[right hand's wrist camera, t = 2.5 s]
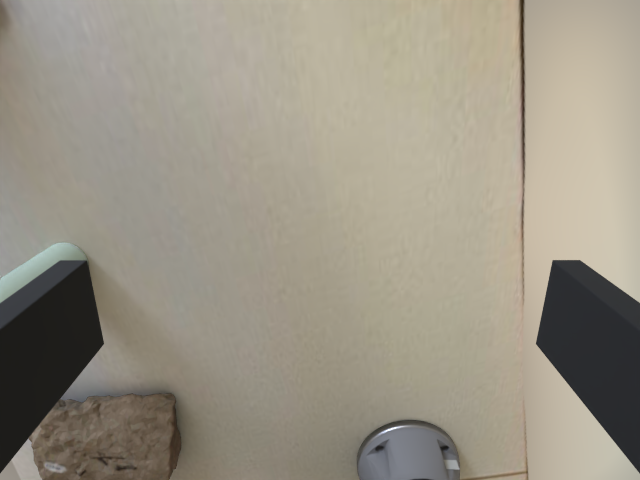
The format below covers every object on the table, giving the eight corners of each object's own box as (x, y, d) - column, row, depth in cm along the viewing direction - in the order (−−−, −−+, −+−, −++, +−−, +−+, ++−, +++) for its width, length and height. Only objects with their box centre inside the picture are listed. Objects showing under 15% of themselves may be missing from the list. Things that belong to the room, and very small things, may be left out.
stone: (34, 481, 65) (14, 511, 59) (27, 385, 63) (5, 406, 57) (183, 467, 69) (177, 494, 63) (181, 377, 67) (175, 396, 61)
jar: (71, 288, 58) (-31, 376, 41) (37, 260, 57) (-84, 339, 40) (97, 263, 57) (3, 343, 40) (62, 233, 55) (-51, 303, 38)
